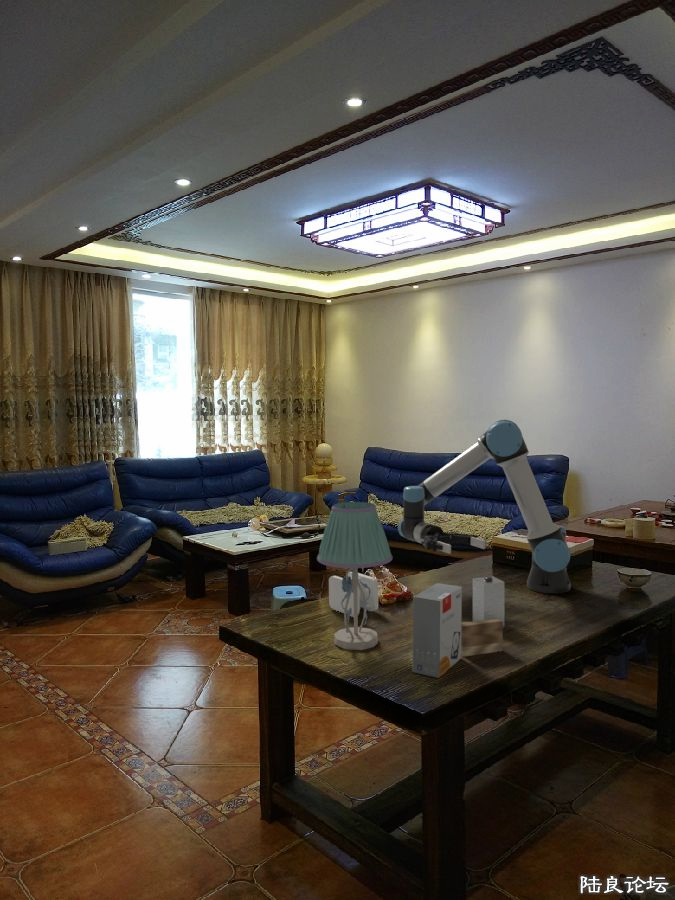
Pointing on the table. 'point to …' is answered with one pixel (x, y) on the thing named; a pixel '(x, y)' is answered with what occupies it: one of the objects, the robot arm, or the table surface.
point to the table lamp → (354, 561)
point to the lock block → (488, 599)
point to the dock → (481, 637)
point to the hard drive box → (436, 629)
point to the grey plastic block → (338, 595)
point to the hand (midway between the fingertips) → (467, 547)
